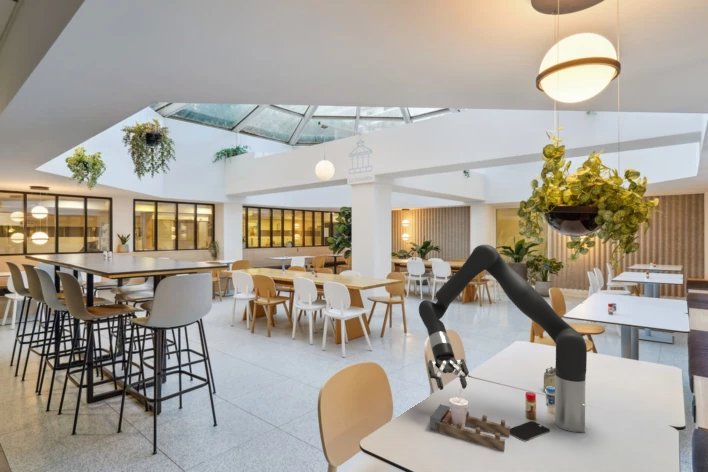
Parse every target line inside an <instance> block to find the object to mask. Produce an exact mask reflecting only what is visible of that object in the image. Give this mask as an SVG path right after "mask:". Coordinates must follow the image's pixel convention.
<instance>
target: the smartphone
mask: <svg viewBox="0 0 708 472" xmlns="http://www.w3.org/2000/svg"><path fill="white" fill-rule="evenodd" d="M550 432H551V429H550V428H549V427H546V426H544V425H542V424H541V423H538V422H535V421H532V420H531V421H528V422H525V423H522V424H519V425H516V426H514V427H510V436H512V437H514V438H515V439H517V440H519V441H521V442H523V443H524V442H525V443H526V442H529V441H530V440H534V439H535V438H538V437H541V436H544V435H545V434H548V433H550Z"/></svg>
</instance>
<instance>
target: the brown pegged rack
mask: <svg viewBox="0 0 708 472" xmlns="http://www.w3.org/2000/svg"><path fill="white" fill-rule="evenodd" d="M487 419H488V417H487V415H482V418H479V417H475V416H471V415H470V411H468V410H467V413H466V420H465V427H466V426H467V427H468V428H474V429H475V430H472V429H468V428H465V427H464V428H462V423H460V422H458V423H457V426H455V425H453V424H452V415H451V410H450V411H449V412H448V414H447V415H446V416H445V418H444V419H443V420H442V422H441V423H440V425H437V426H436V423H435V426H436V427H435V431H434V432H437V433H439V432H440V433H441V434H444V435H447V436H450V437H454V438H457V439H460V440H464V441H467V442H471V443H474V444H478V445H481V446H484V447H487V448H491V449H494V450H498V451H501V452H505V449H506V448H505V447H506V439H505V438H509V437H510V436H511V435H510V428H511V427H510V426H509V425H507V424H506V420H503V419H501V420H500V423H498V422H495V421H492V420H491V421H490V420H487ZM437 424H438V423H437ZM437 427H438V428H439V429H438V428H437ZM438 430H439V431H438ZM481 431H484V432H488V433H491V434H495V436H494V435H490V434H488V433H487V434H486V433H483V432H481ZM501 436H503V437H505V438H501Z"/></svg>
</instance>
